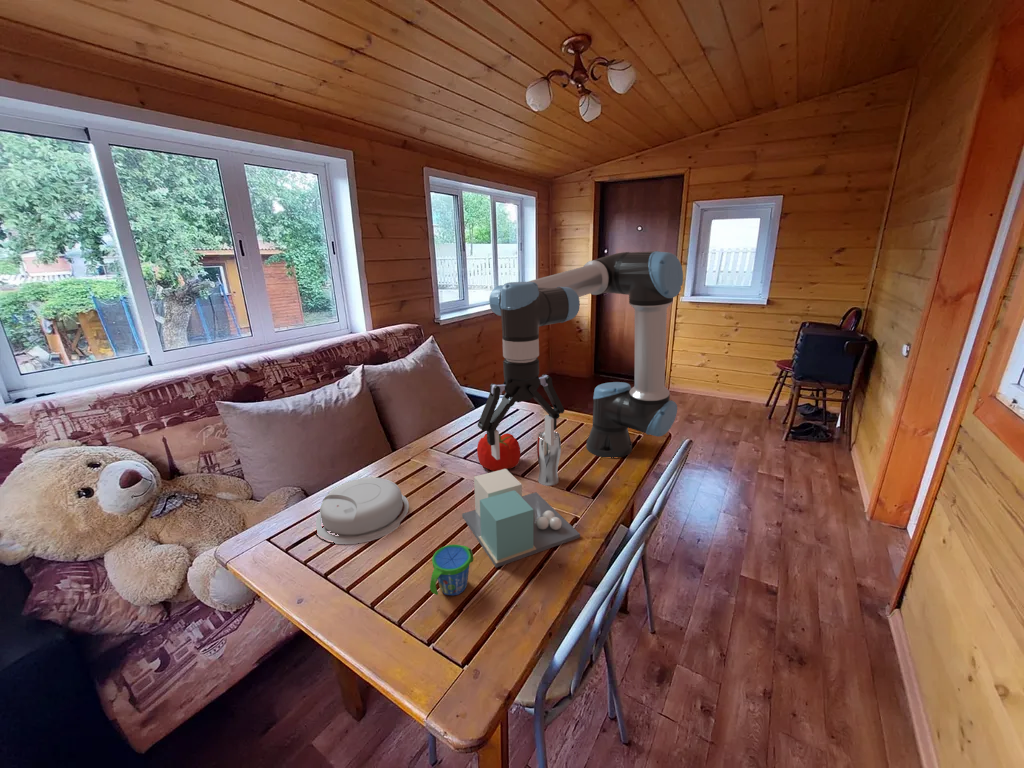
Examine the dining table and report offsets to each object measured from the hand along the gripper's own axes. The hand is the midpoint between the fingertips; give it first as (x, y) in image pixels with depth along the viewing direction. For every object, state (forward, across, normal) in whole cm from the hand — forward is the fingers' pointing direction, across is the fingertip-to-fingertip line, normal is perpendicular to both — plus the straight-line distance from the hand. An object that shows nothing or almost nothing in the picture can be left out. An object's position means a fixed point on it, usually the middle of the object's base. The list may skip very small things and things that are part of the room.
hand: (523, 450), depth 95 cm
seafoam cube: (+21, +6, +2) cm, 22 cm away
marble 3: (+22, -7, +2) cm, 23 cm away
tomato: (+24, -9, -34) cm, 43 cm away
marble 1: (+22, -4, +1) cm, 22 cm away
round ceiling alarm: (+23, +33, -29) cm, 50 cm away
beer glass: (+24, -18, -19) cm, 36 cm away
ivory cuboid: (+22, +3, -9) cm, 24 cm away
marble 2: (+22, -7, -1) cm, 23 cm away
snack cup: (+23, +21, +8) cm, 32 cm away
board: (+23, 0, -4) cm, 23 cm away
